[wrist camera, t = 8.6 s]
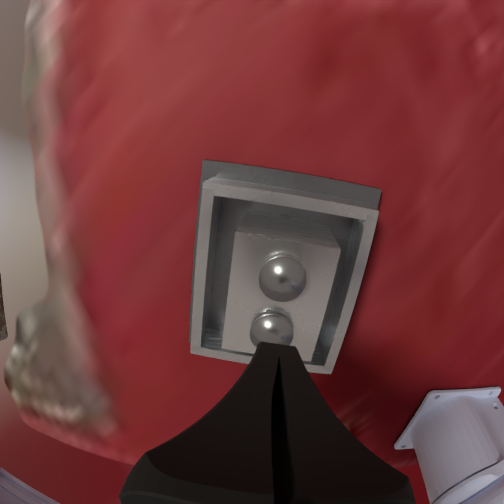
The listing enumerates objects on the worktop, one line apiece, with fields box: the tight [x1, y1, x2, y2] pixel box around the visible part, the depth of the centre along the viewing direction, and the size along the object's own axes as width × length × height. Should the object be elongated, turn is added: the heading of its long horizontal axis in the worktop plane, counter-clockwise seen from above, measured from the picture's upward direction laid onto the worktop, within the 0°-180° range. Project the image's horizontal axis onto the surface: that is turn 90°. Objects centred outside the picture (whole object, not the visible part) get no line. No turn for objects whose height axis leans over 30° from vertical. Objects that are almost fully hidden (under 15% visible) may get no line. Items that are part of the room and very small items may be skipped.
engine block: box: [222, 211, 341, 362], centre depth 16 cm, size 4×6×5 cm
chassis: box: [189, 159, 381, 374], centre depth 18 cm, size 10×12×3 cm
